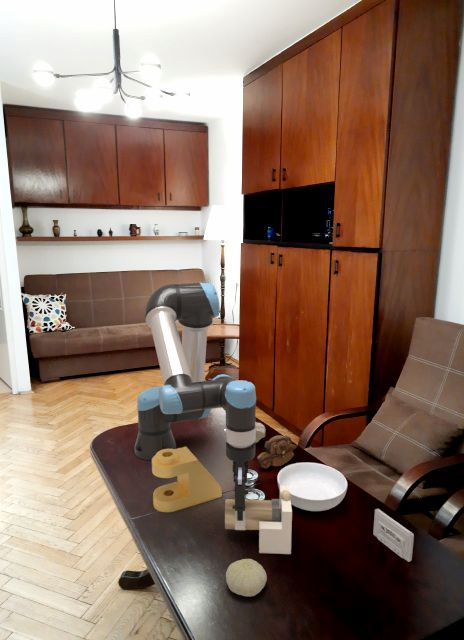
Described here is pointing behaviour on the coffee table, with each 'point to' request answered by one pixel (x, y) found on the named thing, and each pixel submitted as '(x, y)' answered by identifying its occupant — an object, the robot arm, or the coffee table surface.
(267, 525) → the white notched block
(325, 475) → the serving bowl
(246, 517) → the rail
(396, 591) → the coffee table surface
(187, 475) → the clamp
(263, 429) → the white rock
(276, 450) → the wooden carving
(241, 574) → the sea urchin shell
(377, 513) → the cassette
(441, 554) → the coffee table surface
